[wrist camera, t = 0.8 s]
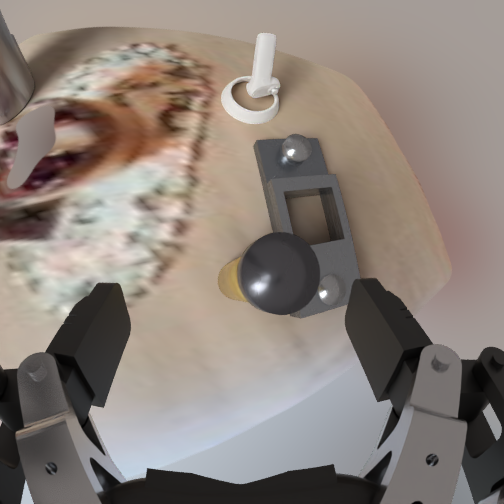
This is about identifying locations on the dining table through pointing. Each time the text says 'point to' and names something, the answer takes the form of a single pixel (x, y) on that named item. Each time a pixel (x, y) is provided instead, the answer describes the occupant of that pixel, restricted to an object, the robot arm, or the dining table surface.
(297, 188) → the grey plate with studs
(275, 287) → the pin
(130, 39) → the dining table surface
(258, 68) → the white vr controller
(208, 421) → the dining table surface
